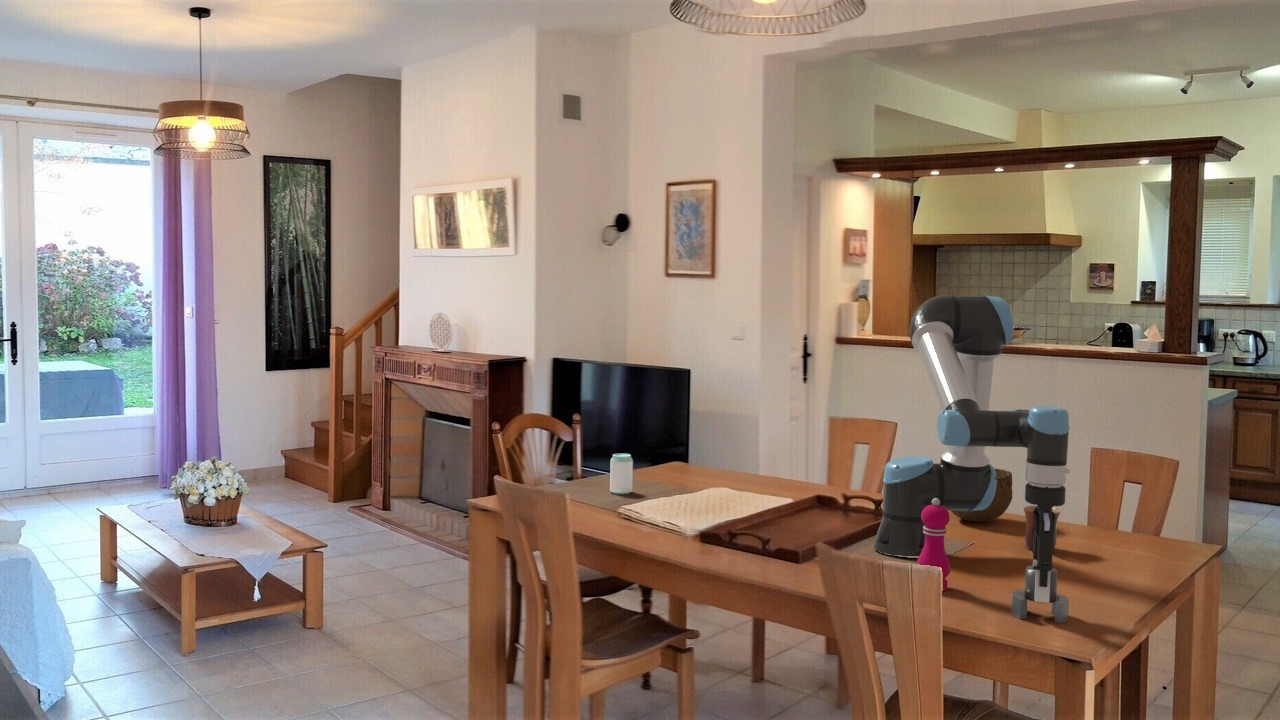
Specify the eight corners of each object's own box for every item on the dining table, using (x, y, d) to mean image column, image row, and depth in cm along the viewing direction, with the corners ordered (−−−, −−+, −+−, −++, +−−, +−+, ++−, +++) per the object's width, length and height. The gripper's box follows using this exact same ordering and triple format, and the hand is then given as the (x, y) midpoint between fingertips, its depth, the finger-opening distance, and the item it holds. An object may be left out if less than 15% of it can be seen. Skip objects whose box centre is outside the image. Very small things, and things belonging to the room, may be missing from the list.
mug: (1019, 543, 267) (1021, 504, 266) (1054, 545, 265) (1056, 506, 265) (1027, 555, 255) (1028, 514, 255) (1064, 557, 254) (1066, 517, 253)
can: (607, 494, 320) (608, 456, 319) (612, 489, 327) (612, 452, 326) (630, 495, 318) (630, 457, 318) (634, 491, 325) (634, 453, 324)
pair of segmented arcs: (1012, 618, 206) (1013, 599, 206) (1010, 607, 213) (1011, 588, 213) (1069, 624, 203) (1070, 604, 203) (1064, 613, 210) (1066, 594, 210)
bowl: (1018, 520, 294) (1020, 468, 293) (1002, 532, 279) (1004, 478, 277) (952, 511, 304) (954, 461, 303) (933, 523, 289) (935, 470, 287)
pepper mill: (910, 582, 230) (914, 494, 228) (942, 582, 231) (945, 494, 229) (922, 592, 223) (926, 501, 221) (954, 592, 223) (958, 501, 222)
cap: (1025, 601, 206) (1026, 570, 205) (1023, 592, 212) (1024, 563, 211) (1057, 604, 204) (1059, 573, 204) (1054, 595, 210) (1055, 566, 210)
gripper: (1071, 494, 196) (1065, 612, 198) (1060, 477, 214) (1055, 586, 216) (1029, 491, 198) (1023, 608, 200) (1022, 474, 216) (1017, 582, 218)
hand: (1040, 596), depth 208 cm, fingers closed on cap, 6 cm apart
